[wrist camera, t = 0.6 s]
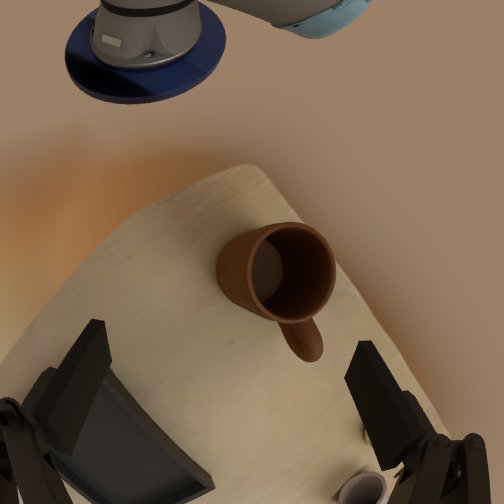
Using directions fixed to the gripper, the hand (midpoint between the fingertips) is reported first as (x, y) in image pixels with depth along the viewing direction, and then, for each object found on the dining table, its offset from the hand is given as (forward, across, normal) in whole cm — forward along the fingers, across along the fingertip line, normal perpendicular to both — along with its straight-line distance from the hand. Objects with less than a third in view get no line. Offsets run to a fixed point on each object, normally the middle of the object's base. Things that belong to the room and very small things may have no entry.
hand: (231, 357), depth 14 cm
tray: (+4, -12, -21) cm, 24 cm away
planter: (+5, +30, -43) cm, 53 cm away
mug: (+15, +3, -4) cm, 16 cm away
